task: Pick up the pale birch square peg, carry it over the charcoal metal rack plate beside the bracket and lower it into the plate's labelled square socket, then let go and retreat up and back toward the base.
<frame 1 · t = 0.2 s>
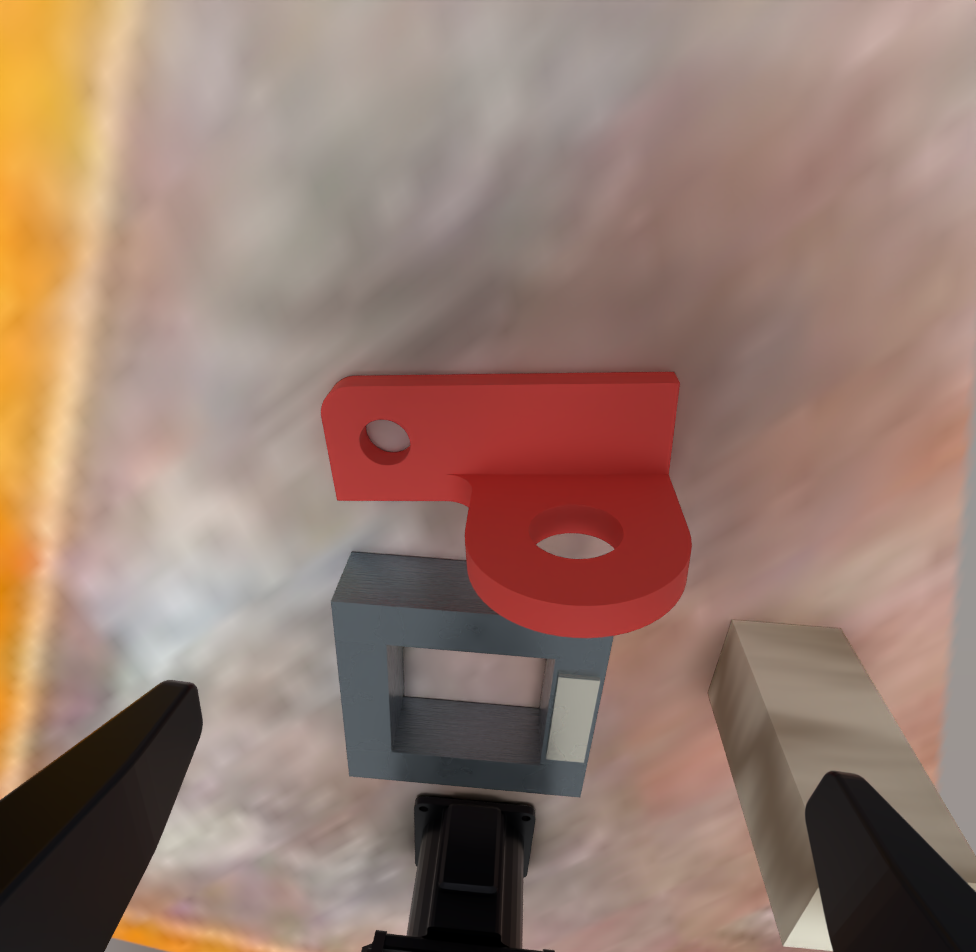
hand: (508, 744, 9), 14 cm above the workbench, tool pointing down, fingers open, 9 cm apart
bracket: (497, 429, 23), on the workbench
rack plate: (474, 654, 28), on the workbench
birch peg: (771, 662, 27), on the workbench
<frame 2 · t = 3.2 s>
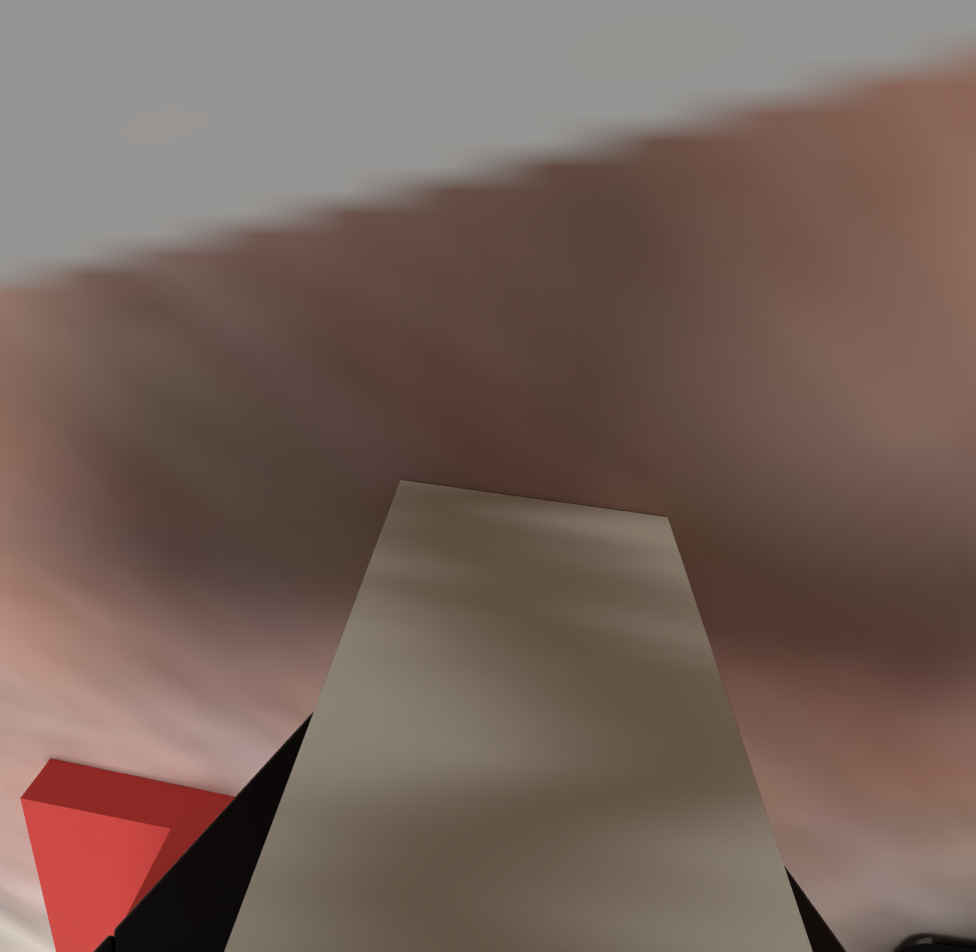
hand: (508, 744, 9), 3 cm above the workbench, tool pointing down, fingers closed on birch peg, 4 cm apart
bracket: (158, 888, 18), on the workbench
birch peg: (514, 600, 11), on the workbench, touching gripper
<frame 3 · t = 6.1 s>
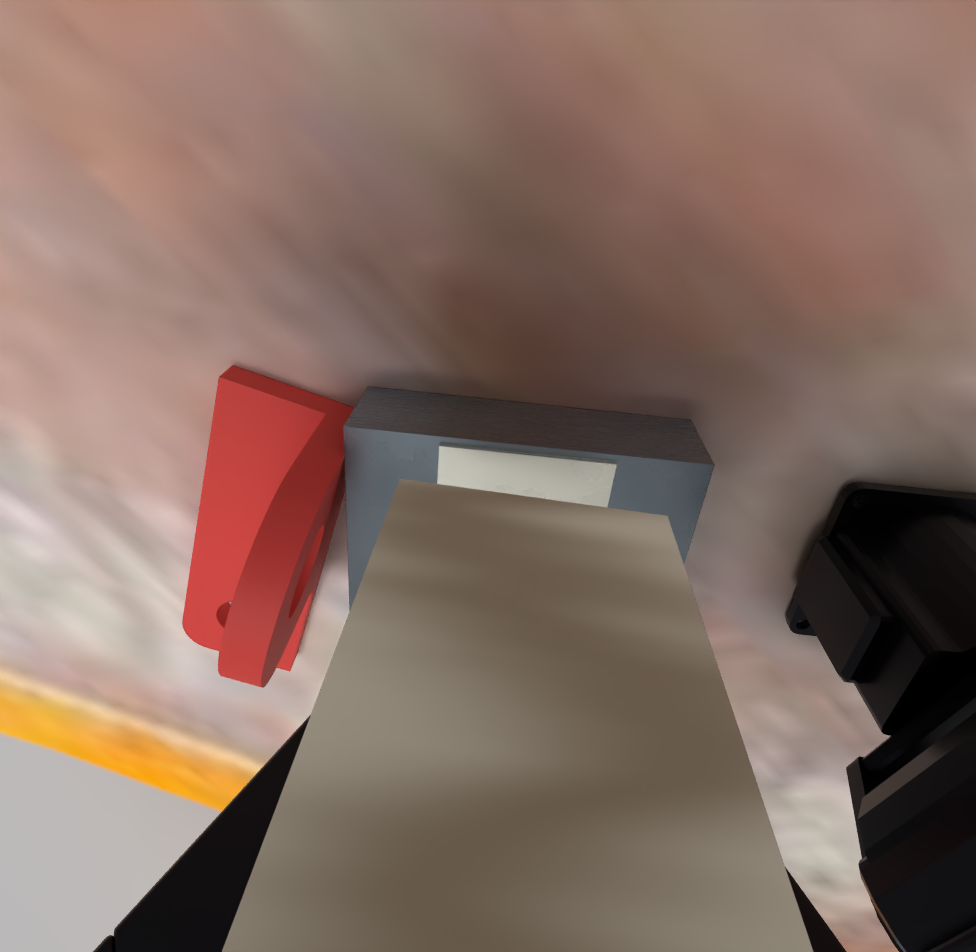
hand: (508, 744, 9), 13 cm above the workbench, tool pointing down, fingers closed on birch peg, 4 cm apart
bracket: (272, 524, 24), on the workbench
rack plate: (511, 535, 23), on the workbench
birch peg: (514, 599, 11), point 10 cm above the workbench, touching gripper
when the fingers open (4 cm above the workbench, at t = 8.9 s): birch peg drops 1 cm, resting in rack plate.
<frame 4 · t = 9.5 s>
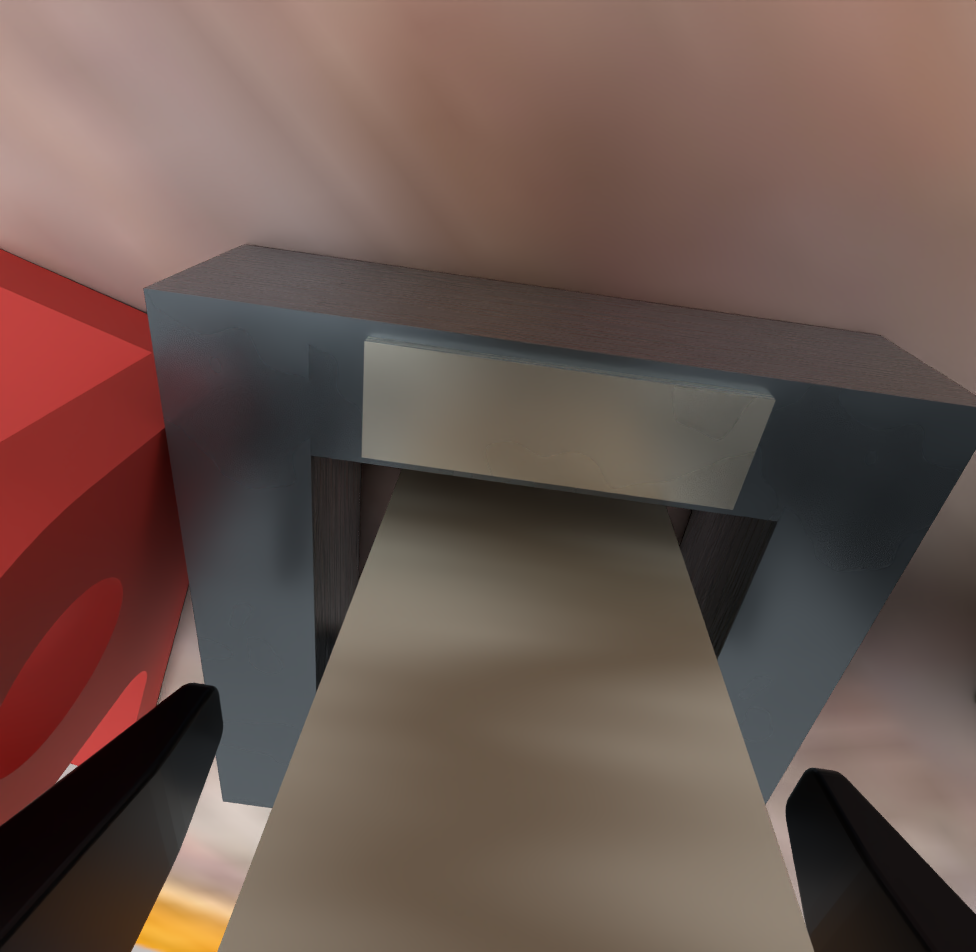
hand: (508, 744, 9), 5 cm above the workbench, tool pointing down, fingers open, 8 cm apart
bracket: (92, 546, 14), on the workbench, touching gripper
rack plate: (516, 546, 13), on the workbench
birch peg: (517, 546, 13), resting in rack plate
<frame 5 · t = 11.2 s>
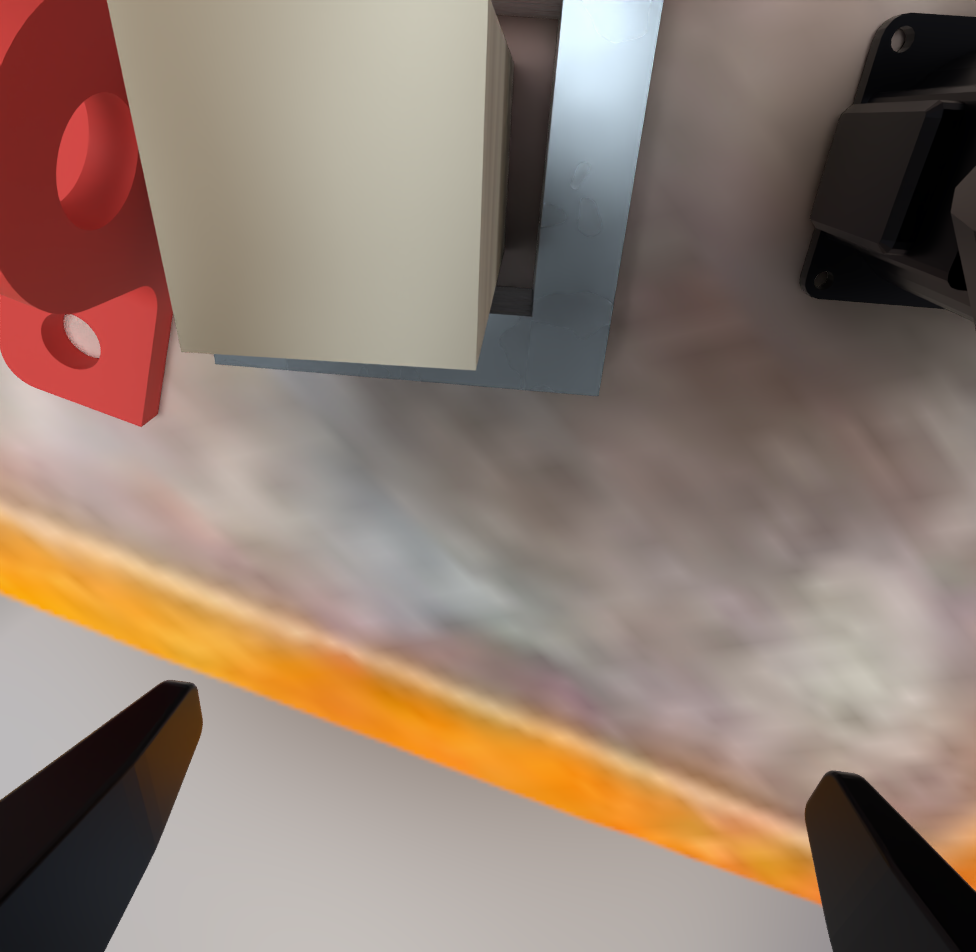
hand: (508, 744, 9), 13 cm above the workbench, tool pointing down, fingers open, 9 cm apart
bracket: (112, 212, 18), on the workbench
rack plate: (424, 158, 17), on the workbench
birch peg: (426, 158, 17), resting in rack plate
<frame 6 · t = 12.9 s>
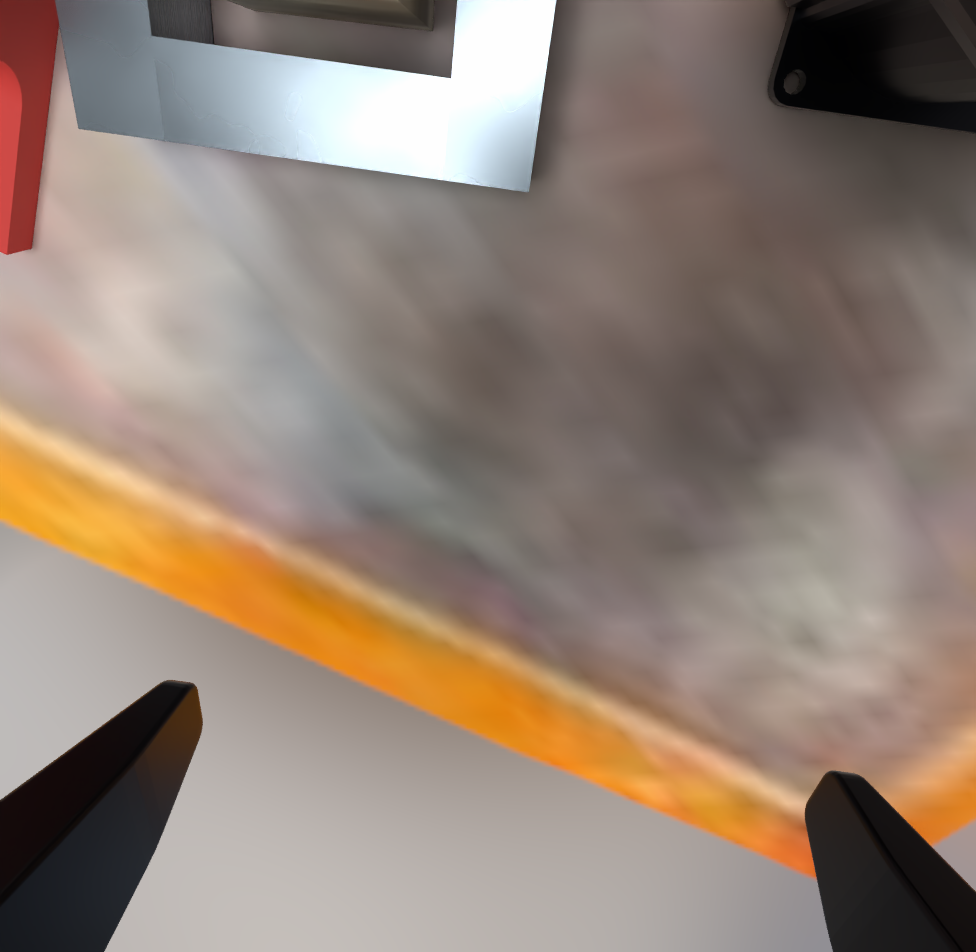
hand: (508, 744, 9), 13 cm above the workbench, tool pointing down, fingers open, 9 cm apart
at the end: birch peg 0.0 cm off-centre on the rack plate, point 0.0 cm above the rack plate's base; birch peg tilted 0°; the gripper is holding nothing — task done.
